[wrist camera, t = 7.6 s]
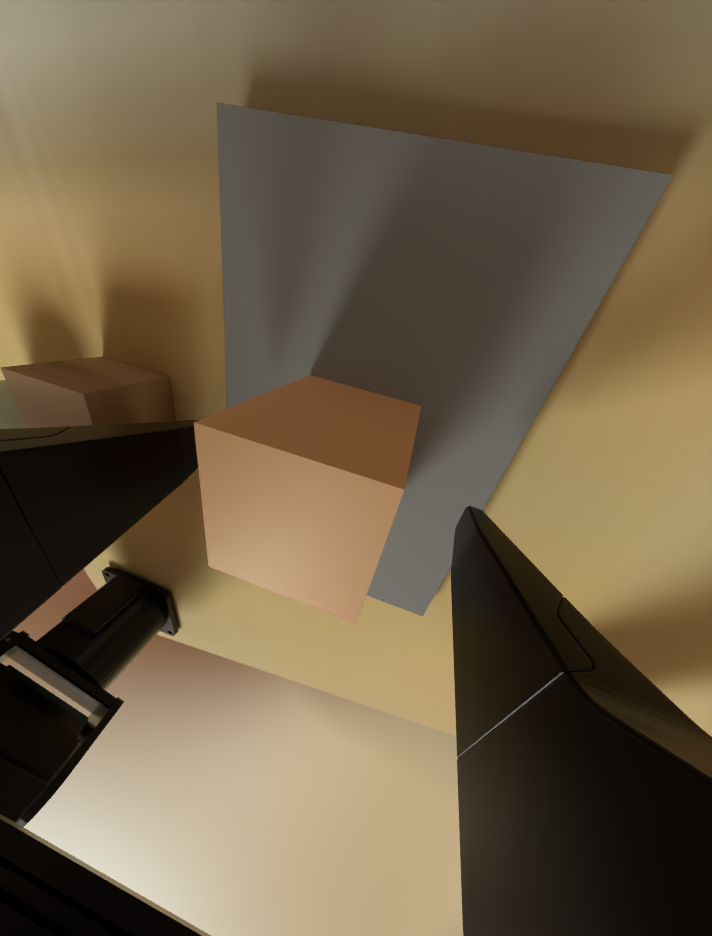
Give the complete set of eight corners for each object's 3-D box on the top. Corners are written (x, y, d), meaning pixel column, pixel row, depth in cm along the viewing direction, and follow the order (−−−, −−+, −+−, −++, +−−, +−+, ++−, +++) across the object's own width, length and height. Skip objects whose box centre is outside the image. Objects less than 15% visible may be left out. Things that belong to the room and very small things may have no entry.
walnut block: (180, 446, 16) (109, 480, 12) (122, 427, 16) (38, 454, 13) (170, 376, 14) (83, 394, 10) (104, 356, 14) (0, 367, 11)
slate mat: (423, 600, 16) (422, 616, 16) (241, 533, 18) (231, 544, 17) (645, 191, 7) (672, 175, 6) (238, 124, 9) (217, 102, 8)
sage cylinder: (101, 446, 18) (20, 476, 14) (50, 429, 18) (-40, 454, 15) (82, 384, 16) (-17, 402, 12) (26, 366, 16) (-86, 378, 13)
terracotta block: (389, 500, 13) (356, 624, 7) (298, 470, 13) (208, 566, 8) (421, 405, 10) (404, 490, 5) (309, 374, 11) (193, 422, 6)
